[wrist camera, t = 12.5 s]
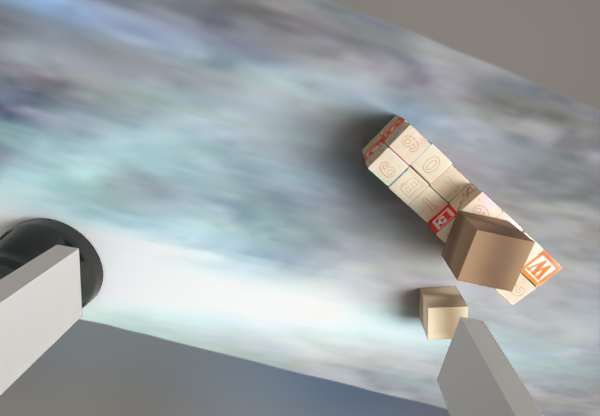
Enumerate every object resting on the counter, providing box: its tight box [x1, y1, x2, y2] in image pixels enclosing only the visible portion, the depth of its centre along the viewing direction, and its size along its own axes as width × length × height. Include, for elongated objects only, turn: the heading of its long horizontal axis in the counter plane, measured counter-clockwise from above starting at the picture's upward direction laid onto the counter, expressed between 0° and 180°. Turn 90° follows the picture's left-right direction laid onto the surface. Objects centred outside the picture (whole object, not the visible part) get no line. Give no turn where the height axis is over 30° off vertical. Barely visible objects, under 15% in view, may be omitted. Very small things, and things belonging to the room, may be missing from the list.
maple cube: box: [419, 286, 468, 340], centre depth 51 cm, size 5×5×5 cm
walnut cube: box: [441, 210, 535, 292], centre depth 35 cm, size 5×5×5 cm
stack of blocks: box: [362, 115, 562, 305], centre depth 42 cm, size 21×6×12 cm, turn 48°
